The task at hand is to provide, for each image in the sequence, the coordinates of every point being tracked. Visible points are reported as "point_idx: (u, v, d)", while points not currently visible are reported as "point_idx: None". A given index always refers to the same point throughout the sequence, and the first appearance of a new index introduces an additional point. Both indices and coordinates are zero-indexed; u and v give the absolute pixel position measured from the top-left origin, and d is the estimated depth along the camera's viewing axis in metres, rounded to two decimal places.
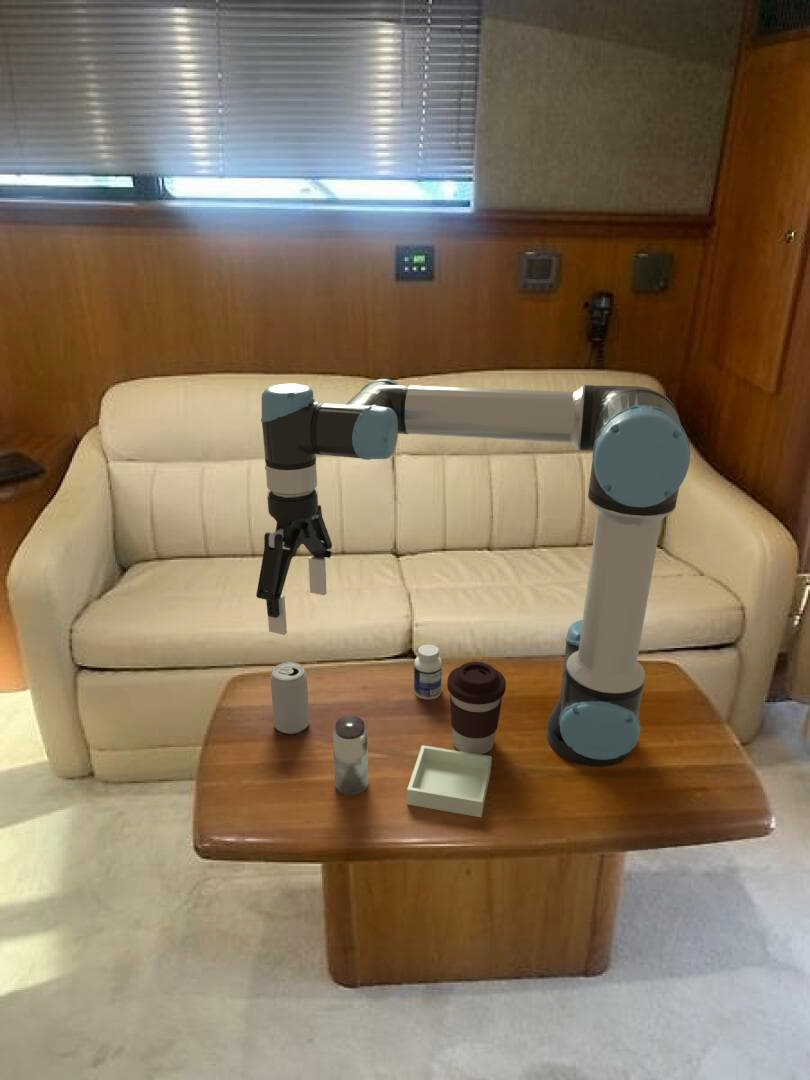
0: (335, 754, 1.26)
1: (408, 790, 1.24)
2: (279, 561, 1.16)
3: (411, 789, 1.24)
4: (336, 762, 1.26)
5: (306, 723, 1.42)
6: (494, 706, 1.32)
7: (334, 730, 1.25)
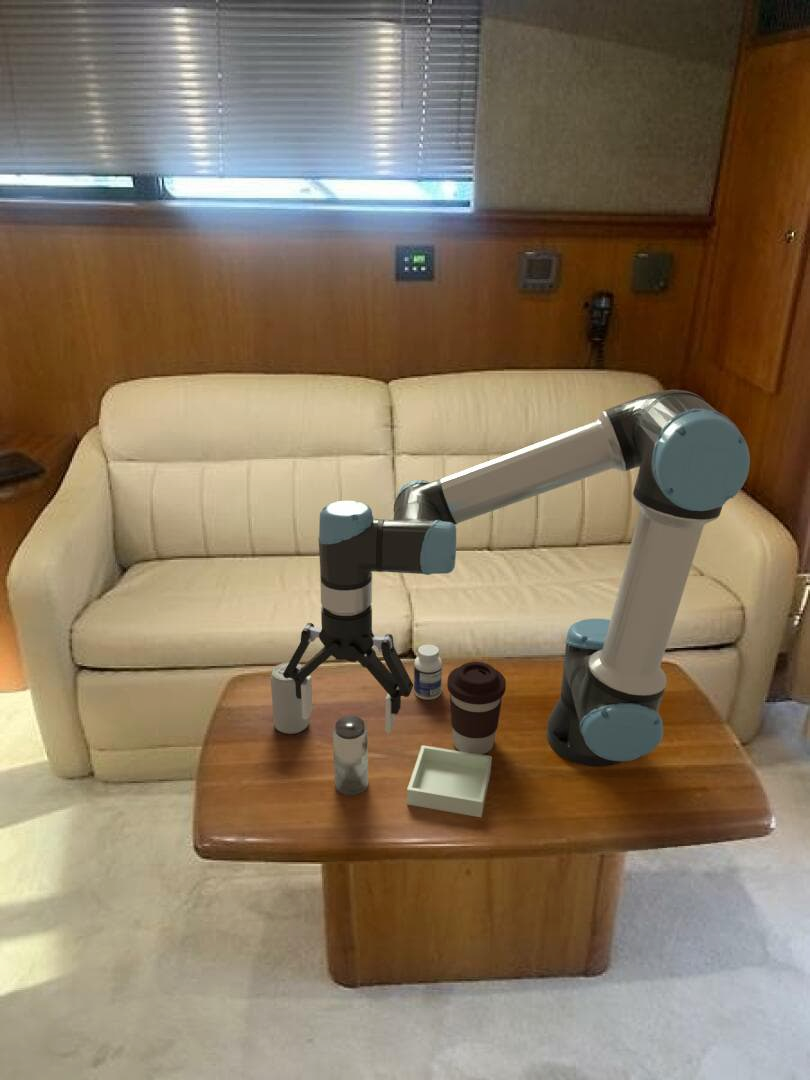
0: (335, 754, 1.26)
1: (408, 790, 1.24)
2: (300, 652, 1.20)
3: (411, 789, 1.24)
4: (336, 762, 1.26)
5: (306, 723, 1.42)
6: (494, 706, 1.32)
7: (334, 730, 1.25)
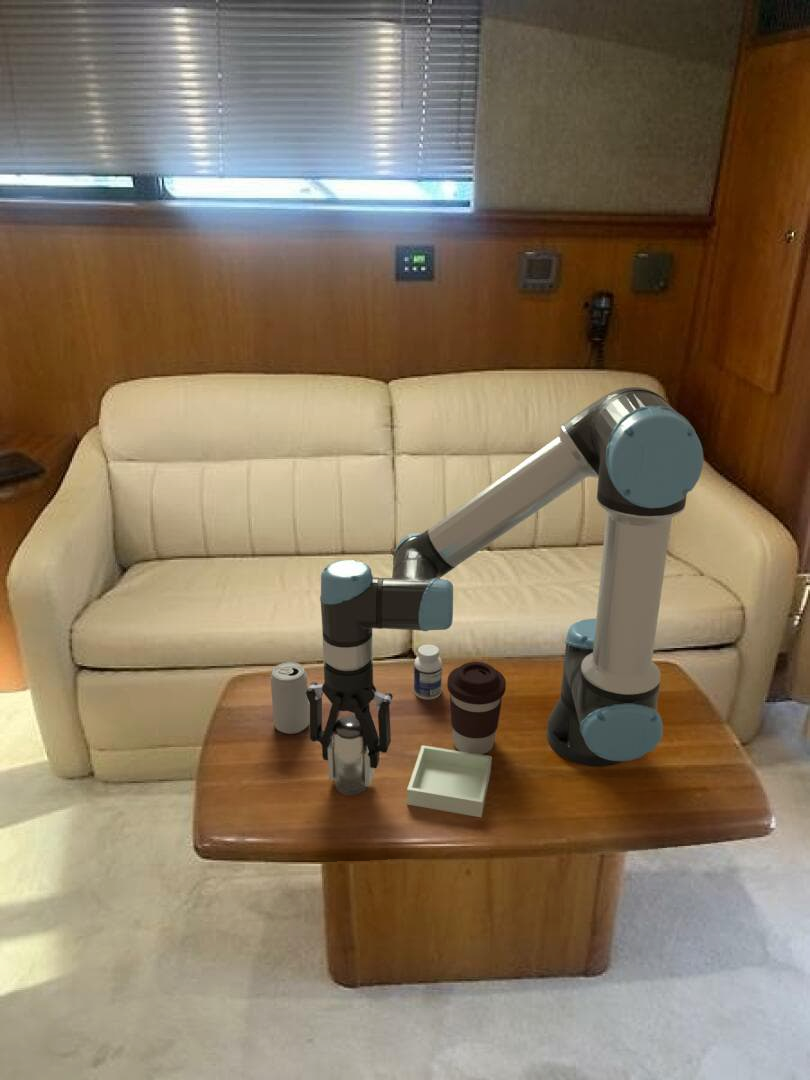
0: (335, 754, 1.26)
1: (408, 790, 1.24)
2: (314, 712, 1.24)
3: (411, 789, 1.24)
4: (336, 762, 1.26)
5: (306, 723, 1.42)
6: (494, 706, 1.32)
7: (334, 730, 1.25)
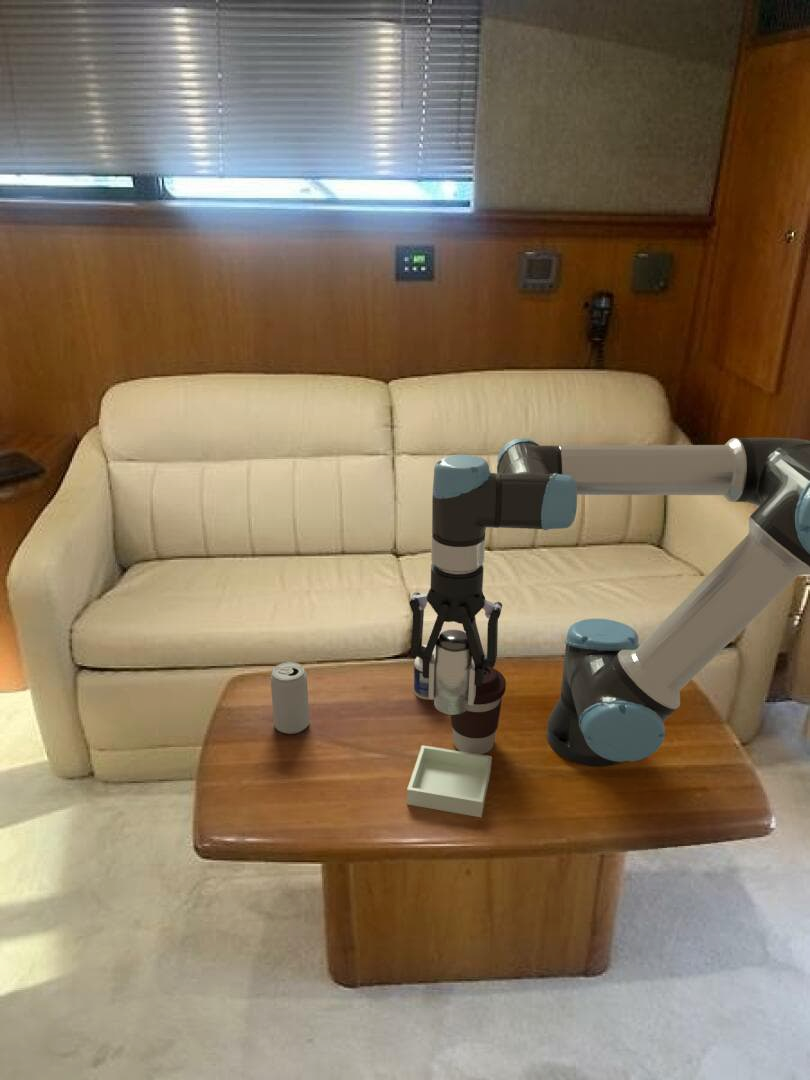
0: (438, 669, 1.18)
1: (408, 790, 1.24)
2: (417, 623, 1.16)
3: (411, 789, 1.24)
4: (439, 678, 1.18)
5: (306, 723, 1.42)
6: (494, 706, 1.32)
7: (437, 643, 1.18)
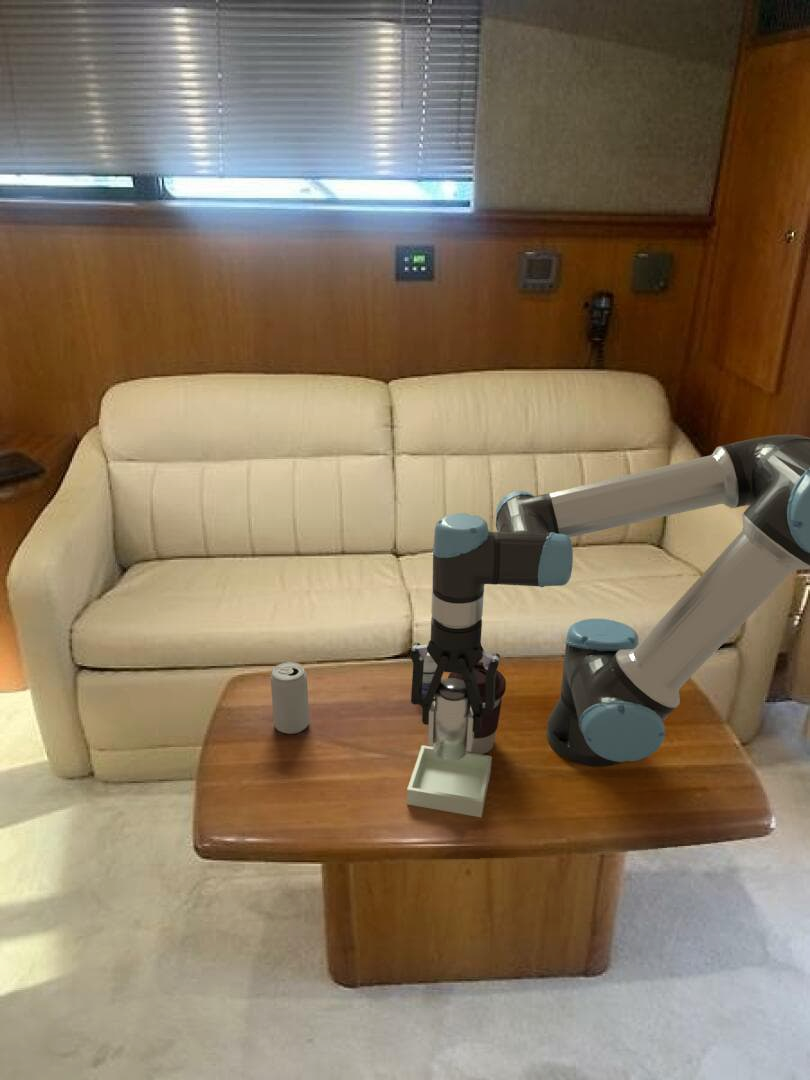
0: (437, 717, 1.22)
1: (408, 790, 1.24)
2: (417, 673, 1.20)
3: (411, 789, 1.24)
4: (438, 725, 1.22)
5: (306, 723, 1.42)
6: (494, 706, 1.32)
7: (437, 692, 1.21)
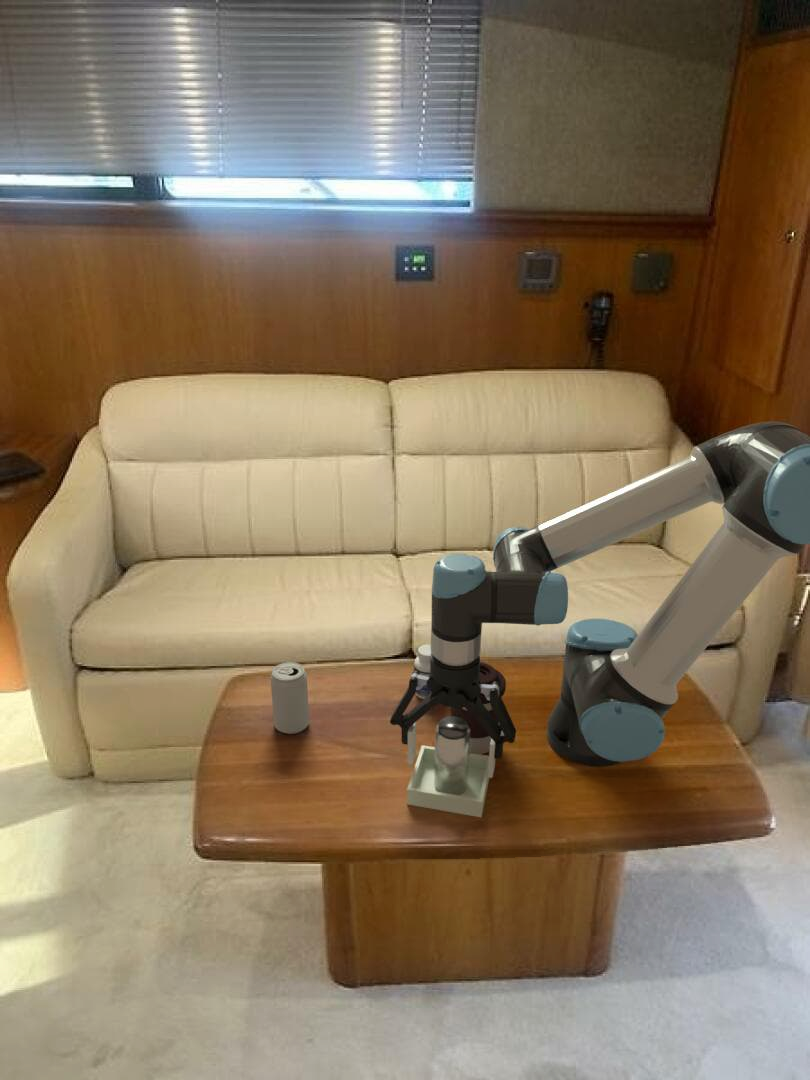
0: (437, 755, 1.25)
1: (408, 790, 1.24)
2: (408, 699, 1.23)
3: (411, 789, 1.24)
4: (438, 763, 1.25)
5: (306, 723, 1.42)
6: None
7: (437, 731, 1.24)
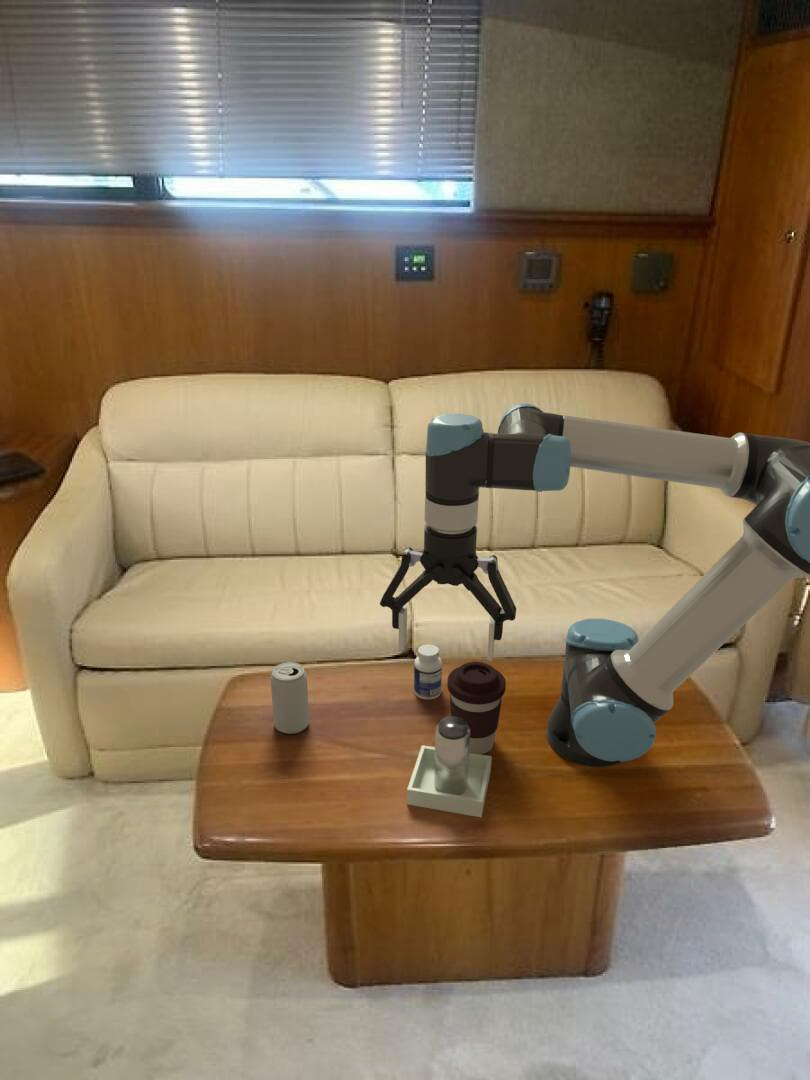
0: (437, 755, 1.25)
1: (408, 790, 1.24)
2: (400, 577, 1.16)
3: (411, 789, 1.24)
4: (438, 763, 1.25)
5: (306, 723, 1.42)
6: (494, 706, 1.32)
7: (437, 731, 1.24)
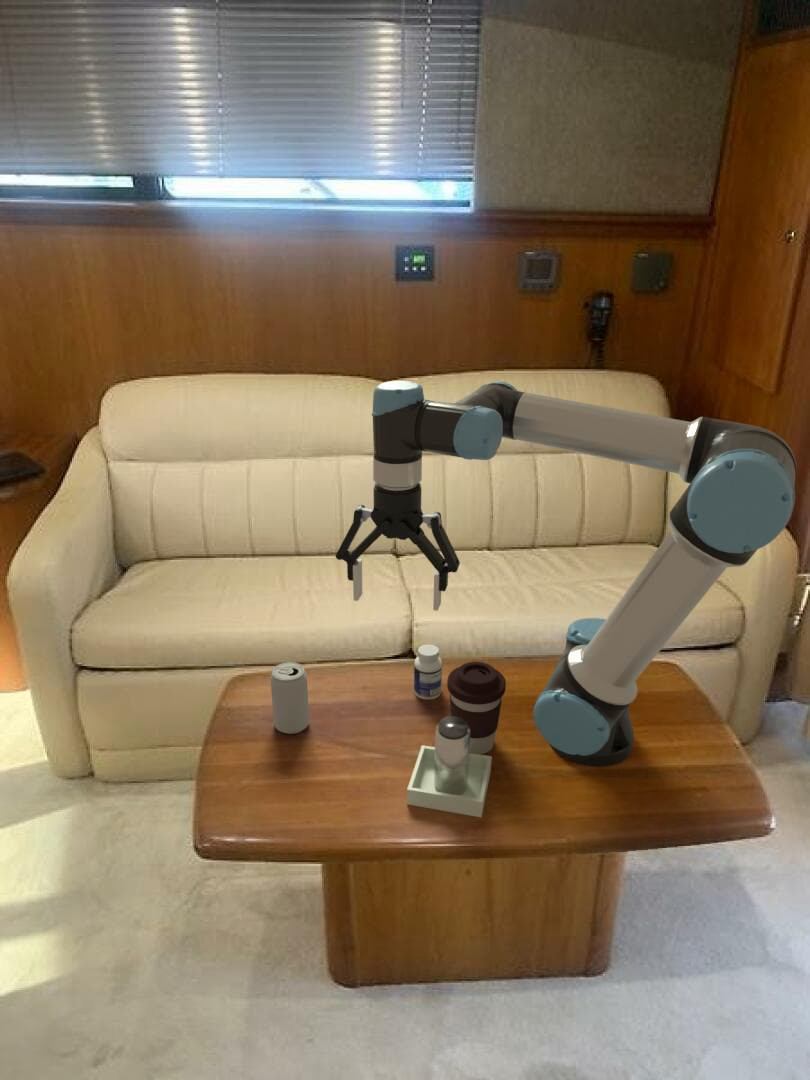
0: (437, 755, 1.25)
1: (408, 790, 1.24)
2: (353, 532, 1.26)
3: (411, 789, 1.24)
4: (438, 763, 1.25)
5: (306, 723, 1.42)
6: (494, 706, 1.32)
7: (437, 731, 1.24)
